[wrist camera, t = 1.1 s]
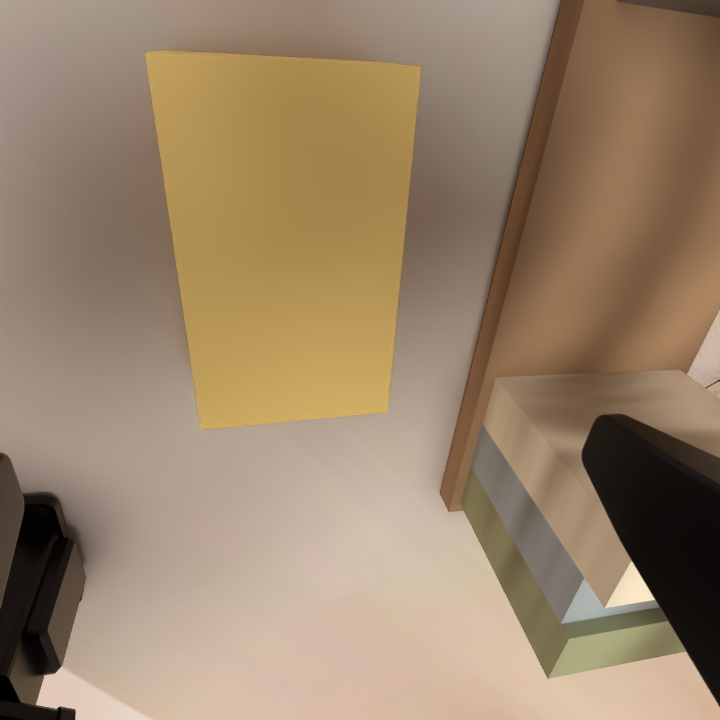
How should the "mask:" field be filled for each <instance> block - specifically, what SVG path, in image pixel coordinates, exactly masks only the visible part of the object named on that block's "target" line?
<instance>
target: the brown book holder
mask: <svg viewBox="0 0 720 720" xmlns="http://www.w3.org/2000/svg"><path fill="white" fill-rule="evenodd" d="M719 310H720V0H562V1H561V5H560V9H559V13H558V17H557V21H556V25H555V29H554V33H553V37H552V41H551V45H550V49H549V53H548V58H547V62H546V66H545V70H544V74H543V78H542V82H541V86H540V90H539V94H538V98H537V102H536V106H535V110H534V114H533V118H532V122H531V127H530V131H529V135H528V139H527V143H526V147H525V151H524V155H523V159H522V163H521V167H520V171H519V175H518V179H517V183H516V187H515V191H514V196H513V200H512V204H511V208H510V212H509V216H508V220H507V224H506V228H505V232H504V236H503V240H502V244H501V248H500V252H499V256H498V260H497V264H496V269H495V273H494V277H493V281H492V285H491V289H490V293H489V297H488V301H487V305H486V309H485V313H484V317H483V321H482V325H481V329H480V333H479V338H478V342H477V346H476V350H475V354H474V358H473V362H472V366H471V370H470V374H469V378H468V382H467V386H466V390H465V394H464V398H463V402H462V407H461V411H460V415H459V419H458V423H457V427H456V431H455V435H454V439H453V443H452V447H451V451H450V455H449V459H448V463H447V467H446V471H445V475H444V480H443V484H442V488H441V492H440V494H441V497H442V499H443V501H444V503H445V505H446V507H447V509H448V512H453V511H463V510H464V512H465V514H466V516H467V518H468V520H469V522H470V524H471V526H472V528H473V530H474V532H475V534H476V536H477V538H478V540H479V542H480V544H481V546H482V548H483V550H484V552H485V554H486V556H487V558H488V560H489V562H490V564H491V566H492V568H493V570H494V572H495V574H496V576H497V578H498V580H499V582H500V584H501V586H502V588H503V590H504V592H505V594H506V596H507V598H508V600H509V602H510V604H511V606H512V608H513V610H514V612H515V614H516V616H517V618H518V620H519V622H520V624H521V626H522V628H523V630H524V632H525V634H526V636H527V638H528V640H529V642H530V644H531V646H532V648H533V650H534V652H535V654H536V656H537V658H538V660H539V662H540V664H541V666H542V668H543V670H544V672H545V674H546V676H547V678H554V677H559V676H564V675H569V674H574V673H579V672H584V671H589V670H594V669H599V668H604V667H609V666H614V665H619V664H624V663H630V662H635V661H640V660H645V659H650V658H655V657H660V656H665V655H670V654H675V653H680V652H685V651H686V650H685V649H684V647H683V645H682V644H681V642H680V640H679V639H678V637H677V635H676V634H675V632H674V630H673V629H672V627H671V625H670V624H669V622H668V620H667V619H666V617H665V615H664V614H663V612H662V610H661V609H660V607H659V605H658V604H657V602H656V601H655V599H654V597H653V596H652V594H651V592H650V591H649V589H648V587H647V586H646V584H645V582H644V581H643V579H642V577H641V576H640V574H639V572H638V571H637V569H636V567H635V566H634V564H633V562H632V561H631V559H630V557H629V556H628V554H627V552H626V551H625V549H624V547H623V545H622V544H621V542H620V540H619V538H618V536H617V534H616V532H615V530H614V528H613V526H612V524H611V522H610V520H609V518H608V516H607V514H606V511H605V509H604V507H603V505H602V503H601V501H600V499H599V497H598V495H597V493H596V491H595V489H594V487H593V485H592V483H591V480H590V478H589V476H588V474H587V472H586V470H585V468H584V466H583V463H582V459H581V452H582V448H583V446H584V444H585V441H586V439H587V436H588V434H589V432H590V429H591V427H592V425H593V422H594V420H595V419H596V418H597V417H598V416H600V415H603V414H617V413H619V414H624V415H627V416H629V417H631V418H634V419H636V420H638V421H640V422H642V423H645V424H647V425H649V426H651V427H653V428H656V429H658V430H660V431H662V432H664V433H667V434H669V435H671V436H673V437H675V438H678V439H680V440H682V441H684V442H686V443H688V444H691V445H693V446H695V447H697V448H699V449H702V450H704V451H706V452H708V453H710V454H713V455H715V456H717V457H719V458H720V398H718V397H717V396H716V395H714V394H713V393H711V392H710V391H709V390H707V389H706V388H704V387H703V386H702V385H700V384H699V383H698V382H696V381H695V380H693V379H692V378H691V377H689V376H688V375H687V373H688V371H689V369H690V367H691V365H692V363H693V361H694V359H695V357H696V355H697V353H698V351H699V349H700V347H701V345H702V343H703V341H704V339H705V337H706V335H707V333H708V331H709V329H710V327H711V326H712V324H713V322H714V320H715V318H716V316H717V314H718V312H719Z"/></svg>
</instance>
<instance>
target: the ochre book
mask: <svg viewBox="0 0 720 720" xmlns="http://www.w3.org/2000/svg"><path fill="white" fill-rule="evenodd" d="M145 58H146V65H147V72H148V78H149V85H150V92H151V99H152V105H153V112H154V119H155V126H156V132H157V139H158V146H159V153H160V159H161V166H162V173H163V180H164V186H165V193H166V200H167V207H168V213H169V220H170V227H171V234H172V240H173V247H174V254H175V261H176V267H177V274H178V281H179V288H180V294H181V301H182V308H183V315H184V321H185V328H186V335H187V341H188V348H189V355H190V362H191V368H192V375H193V382H194V389H195V395H196V402H197V409H198V416H199V422H200V429H201V430H207V429H217V428H228V427H238V426H249V425H259V424H270V423H280V422H291V421H301V420H312V419H322V418H333V417H343V416H354V415H364V414H375V413H386V412H388V403H389V393H390V382H391V372H392V362H393V352H394V341H395V331H396V321H397V311H398V301H399V290H400V280H401V270H402V260H403V250H404V239H405V229H406V219H407V209H408V199H409V188H410V178H411V168H412V158H413V148H414V137H415V127H416V117H417V107H418V97H419V86H420V76H421V67H420V66H411V65H403V64H395V63H387V62H377V61H359V60H340V59H321V58H303V57H284V56H266V55H247V54H229V53H210V52H192V51H173V50H160V51H151V52H145Z"/></svg>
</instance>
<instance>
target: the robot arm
mask: <svg viewBox="0 0 720 720" xmlns="http://www.w3.org/2000/svg"><path fill="white" fill-rule="evenodd" d="M581 459H582V463H583V466H584V468H585V470H586V472H587V474H588V476H589V478H590V480H591V483H592V485H593V487H594V489H595V491H596V493H597V495H598V497H599V499H600V501H601V503H602V505H603V507H604V509H605V511H606V514H607V516H608V518H609V520H610V522H611V524H612V526H613V528H614V530H615V532H616V534H617V536H618V538H619V540H620V542H621V544H622V545H623V547H624V549H625V551H626V552H627V554H628V556H629V557H630V559H631V561H632V562H633V564H634V566H635V567H636V569H637V571H638V572H639V574H640V576H641V577H642V579H643V581H644V582H645V584H646V586H647V587H648V589H649V591H650V592H651V594H652V596H653V597H654V599H655V601H656V602H657V604H658V605H659V607H660V609H661V610H662V612H663V614H664V615H665V617H666V619H667V620H668V622H669V624H670V625H671V627H672V629H673V630H674V632H675V634H676V635H677V637H678V639H679V640H680V642H681V644H682V645H683V647H684V649H685V650H686V652H687V654H688V655H689V657H690V659H691V660H692V662H693V664H694V665H695V667H696V669H697V670H698V672H699V673H700V675H701V677H702V678H703V680H704V682H705V683H706V685H707V687H708V688H709V690H710V692H711V693H712V695H713V697H714V698H715V700H716V702H717V703H718V705H719V707H720V458H719V457H717V456H715V455H713V454H710V453H708V452H706V451H704V450H702V449H699V448H697V447H695V446H693V445H691V444H688V443H686V442H684V441H682V440H680V439H678V438H675V437H673V436H671V435H669V434H667V433H664V432H662V431H660V430H658V429H656V428H653V427H651V426H649V425H647V424H645V423H642V422H640V421H638V420H636V419H634V418H631V417H629V416H627V415H624V414H619V413H617V414H603V415H600V416H598V417H597V418H596V419H595V420H594V422H593V425H592V427H591V429H590V432H589V434H588V436H587V439H586V441H585V444H584V446H583V448H582V452H581ZM41 508H45V509H41ZM85 579H86V576H85V572H84V569H83V565H82V562H81V558H80V555H79V551H78V548H77V544H76V541H75V540H73V539H72V538H71V537H68V533H67V530H66V526H65V523H64V520H63V516H62V513H61V510H60V506H59V503H58V502H57V500H56V499H54V498H53V497H50V496H32V497H23V494H22V491H21V489H20V486H19V483H18V480H17V477H16V474H15V471H14V468H13V465H12V462H11V460H10V458H9V457H8V456H7V455H6V454H4V453H0V720H75V713H76V712H75V709H71V708H65V707H59V708H57V709H54V708H48V707H43V706H37V705H36V702H37V699H38V696H39V692H40V689H41V685H42V682H43V679H44V675H48V674H54V673H56V672H57V671H58V669H59V668H60V667H61V666H62V664H63V660H64V657H65V653H66V649H67V646H68V642H69V638H70V635H71V631H72V627H73V623H74V620H75V616H76V612H77V609H78V605H79V602H80V601H81V600H82V596H83V592H84V583H85Z"/></svg>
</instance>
